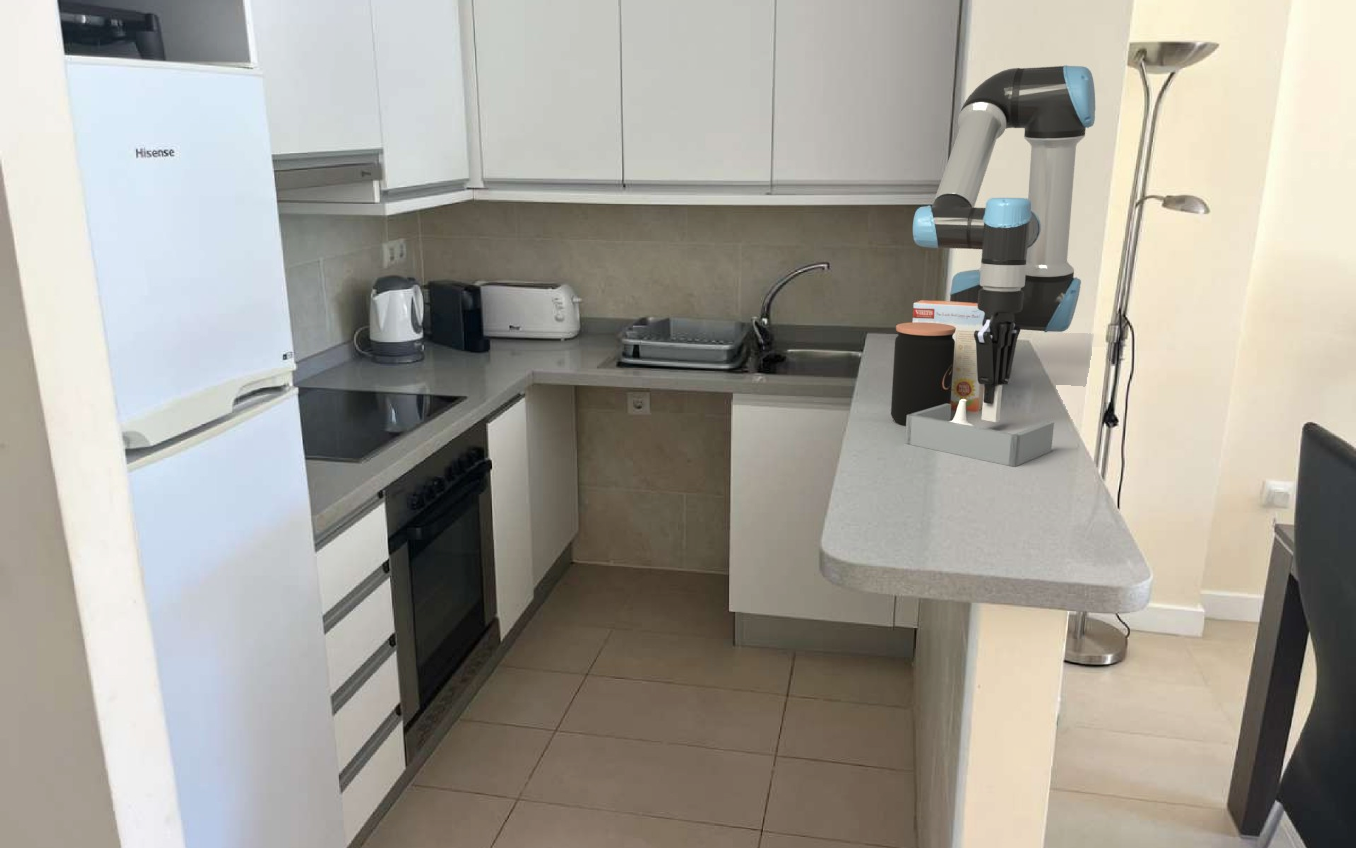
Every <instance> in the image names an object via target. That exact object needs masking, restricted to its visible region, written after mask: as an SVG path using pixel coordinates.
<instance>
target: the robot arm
mask: <svg viewBox="0 0 1356 848" xmlns="http://www.w3.org/2000/svg"><path fill="white" fill-rule="evenodd" d="M1094 82H1095V81H1094V77H1093V74H1092V71H1091V70H1090V69H1089V68H1088V67H1087V66H1083V65H1082V66H1081V65H1079V66H1078V65H1057V66H1056V65H1055V66H1044V67H1043V66H1042V67H1041V66H1040V67H1039V66H1038V67H1024V68H1020V67H1015V68H1007V69H1003V70H1002V71H1000V72H998V73H995V74H993V75H992V76H990V77H989V78H987V79H986V80H984V81H983V82H982V83H980V84H979V85H978V86H977V87H976V88H975V89H974V90H973V92H971V93H970V94H969V96H968V97H967V99H966V100H965V101H964V103H963V105H962V107H961V110H960V112H959V115H958V118H957V125H958V129H959V130H958V133H957V134H956V135H957V136H956V137H955V142H954V145H952V150H951V152H950V155H949V158H948V161H947V163H946V166H945V169H944V172H943V175H942V177H941V180H940V183H939V186H938V189H937V191H936V194H935V197H934V200H933V202H932V206H931V205H927V206H921V207H918V208H917V209H916V211H915V212H914V213H915V214H914V215H913V216H914V217H913V223H912V236H913V241H914V243H915V244H916V245H917V246H919V247H923V248H924V247H925V248H931V249H932V248H933V249H958V250H959V249H961V250H962V249H963V250H964V249H965V250H966V249H967V250H968V249H970V250H981V259H980V268H979V269H972V270H964V271H960V272H957V273H956V274H955V275H953V277H952V280H951V288H950V292H949V296H950V297H949V301H952V302H967V303H978V306H977V307H978V309H979V310H981V311H984V313H985V315H984V319H983V322H982V326H983V328H982V329H981V330H980V331H975V332H974V338H975V342H976V354H977V377H978V382H979V384H984V394H983V407H982V408H981V420H982V421H986V422H987V421H988V422H993V423H997V422H1000V416H1001V405H1002V393H1003V385H1004V386H1008V385H1009V383H1010V382H1009V379H1010V378H1011V372H1012V367H1013V362H1014V357H1015V352H1016V347H1017V341H1018V337H1019V335H1020V333H1021V331H1033V332H1034V331H1035V332H1044V333H1047V332H1048V333H1049V332H1053V333H1056V332H1057V333H1060V332H1066V330H1068V329H1069V328H1070V326H1071V325H1072V321H1073V318H1074V315H1075V312H1076V308H1077V304H1078V301H1079V297H1080V291H1081V284H1082V280H1081V279H1080V278H1078V277H1074V275H1075V269H1074V267H1073V266H1072V265H1071V264H1070V263H1069V261H1068V256H1069V255H1068V253H1069V239H1070V229H1071V217H1072V216H1071V214H1072V203H1073V189H1074V188H1073V187H1074V177H1075V164H1076V151H1077V145H1078V144H1079V143H1080V142H1081V140H1083V139H1084V138H1085V137H1086V128H1087V129H1089V128H1091V127H1093V126H1094V124H1095V119H1096V92H1095V83H1094ZM1012 128H1013V129H1023V130H1024V136H1023V137H1024V139H1025V140H1026V141H1027V142H1028V143H1029V144H1030V148H1031V150H1030V163H1029V164H1030V165H1029V177H1028V178H1029V181H1028V194H1027V195H1028V198H1026V197H991V198H989V199H988V200H987V201H986V203H985V207H975V206H976V202H977V200H978V196H979V193H980V190H981V189H982V188H981V187H982V185H983V182H984V178H985V175H986V172H987V169H988V165H989V163H990V162H991V161H990V160H991V157H992V155H993V152H994V147H995V145H996V142H997V140H998V139H999V138H1000V137H1001V136H1002V135H1003V134H1004V133H1005V131H1006V129H1012Z"/></svg>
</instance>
